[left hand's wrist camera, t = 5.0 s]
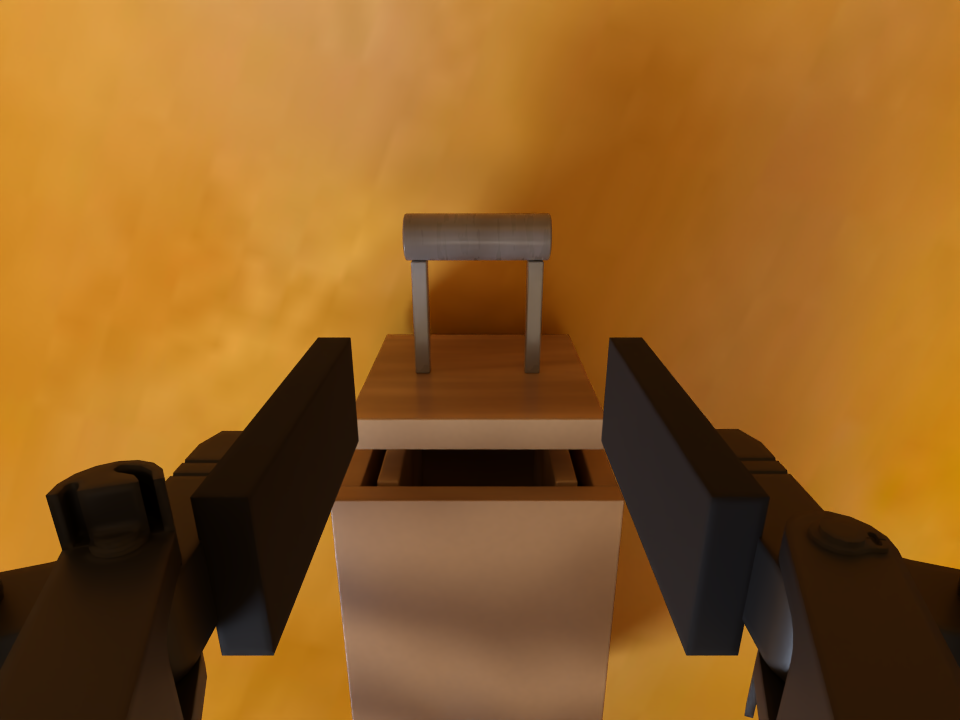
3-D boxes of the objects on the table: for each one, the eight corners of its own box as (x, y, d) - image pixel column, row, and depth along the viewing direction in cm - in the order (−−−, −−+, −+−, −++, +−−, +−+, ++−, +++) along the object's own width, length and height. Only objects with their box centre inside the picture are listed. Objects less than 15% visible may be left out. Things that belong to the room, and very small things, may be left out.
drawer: (379, 200, 26) (330, 231, 18) (576, 200, 26) (622, 231, 18) (404, 639, 35) (380, 801, 27) (551, 639, 35) (575, 801, 27)
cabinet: (380, 376, 30) (329, 500, 20) (575, 376, 30) (625, 500, 20) (399, 673, 38) (369, 878, 27) (557, 673, 38) (586, 878, 27)
